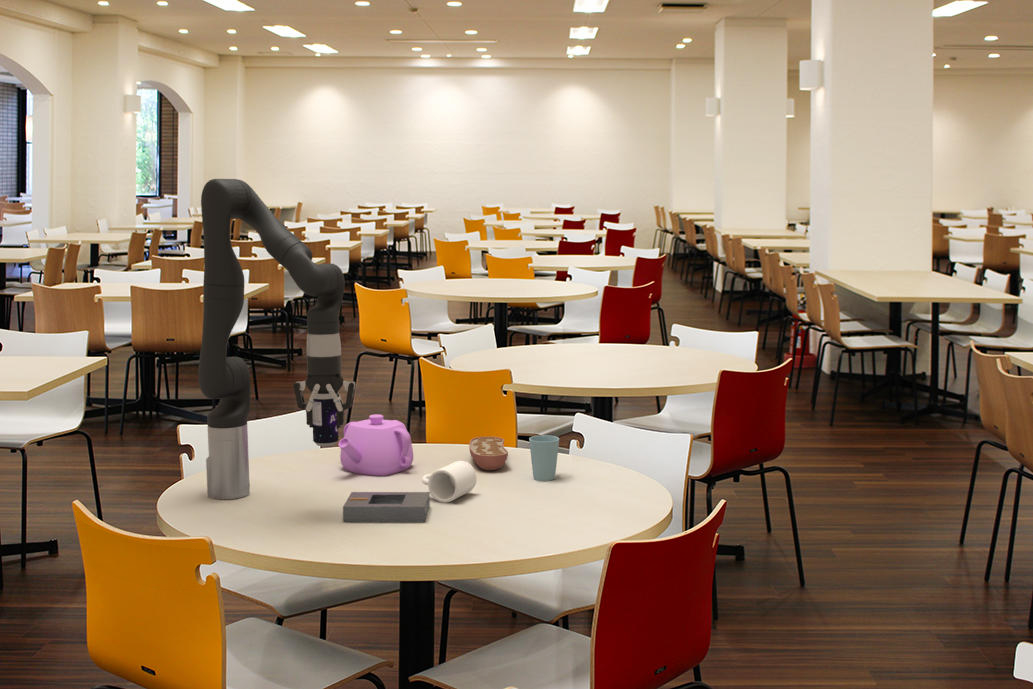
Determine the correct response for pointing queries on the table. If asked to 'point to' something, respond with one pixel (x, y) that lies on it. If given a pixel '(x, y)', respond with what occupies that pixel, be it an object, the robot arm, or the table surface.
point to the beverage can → (324, 420)
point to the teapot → (376, 447)
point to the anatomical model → (488, 452)
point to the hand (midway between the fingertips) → (325, 426)
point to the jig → (386, 507)
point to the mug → (451, 481)
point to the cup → (544, 456)
